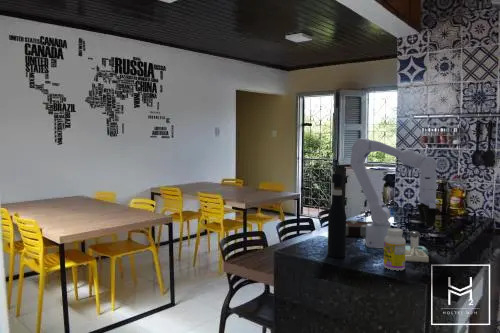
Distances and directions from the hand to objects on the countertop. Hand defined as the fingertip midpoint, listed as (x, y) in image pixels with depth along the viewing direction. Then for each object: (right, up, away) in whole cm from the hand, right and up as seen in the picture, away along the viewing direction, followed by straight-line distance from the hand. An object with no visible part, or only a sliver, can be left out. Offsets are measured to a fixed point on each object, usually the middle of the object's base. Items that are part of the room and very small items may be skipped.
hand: (426, 224), depth 149 cm
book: (-16, -9, +31) cm, 36 cm away
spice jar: (-9, -10, -9) cm, 16 cm away
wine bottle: (-36, -11, -5) cm, 38 cm away
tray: (-9, -11, -9) cm, 17 cm away
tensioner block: (-5, -11, -2) cm, 12 cm away
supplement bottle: (-20, -12, -20) cm, 31 cm away
